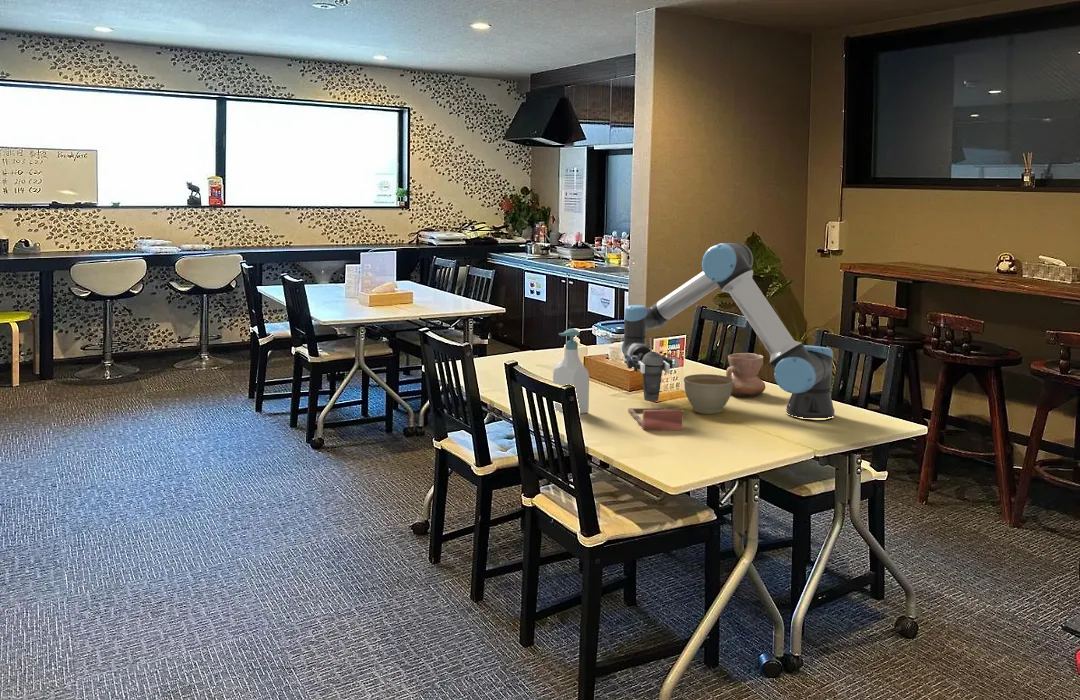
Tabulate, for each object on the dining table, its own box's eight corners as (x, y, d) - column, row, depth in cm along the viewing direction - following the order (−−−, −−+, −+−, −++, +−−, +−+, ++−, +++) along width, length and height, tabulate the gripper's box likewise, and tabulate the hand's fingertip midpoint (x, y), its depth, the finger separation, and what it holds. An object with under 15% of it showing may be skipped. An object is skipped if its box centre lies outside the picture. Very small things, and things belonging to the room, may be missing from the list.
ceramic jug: (745, 387, 338) (746, 350, 336) (776, 394, 327) (777, 355, 324) (710, 394, 328) (711, 355, 326) (740, 402, 317) (742, 361, 314)
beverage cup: (656, 403, 287) (659, 340, 283) (635, 400, 291) (638, 338, 287) (666, 399, 293) (669, 337, 290) (645, 396, 297) (648, 335, 293)
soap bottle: (548, 409, 302) (549, 327, 297) (568, 406, 306) (569, 325, 302) (568, 416, 293) (569, 332, 288) (588, 413, 298) (590, 330, 293)
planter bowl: (679, 404, 311) (681, 373, 309) (727, 405, 310) (729, 374, 308) (685, 416, 295) (686, 383, 293) (735, 417, 294) (737, 384, 293)
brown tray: (628, 411, 300) (628, 394, 299) (663, 411, 301) (664, 393, 300) (643, 430, 277) (644, 411, 276) (681, 430, 278) (682, 410, 277)
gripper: (669, 366, 309) (686, 380, 287) (610, 366, 307) (624, 381, 285) (670, 344, 308) (687, 357, 286) (611, 344, 306) (624, 357, 283)
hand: (656, 369), depth 285 cm, fingers closed on beverage cup, 7 cm apart
